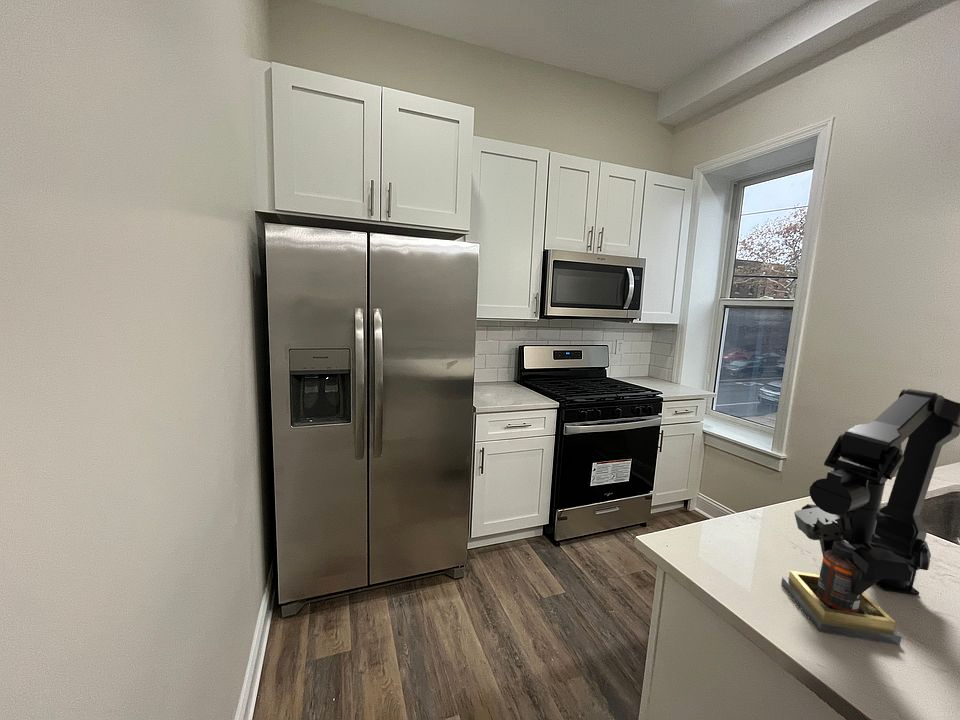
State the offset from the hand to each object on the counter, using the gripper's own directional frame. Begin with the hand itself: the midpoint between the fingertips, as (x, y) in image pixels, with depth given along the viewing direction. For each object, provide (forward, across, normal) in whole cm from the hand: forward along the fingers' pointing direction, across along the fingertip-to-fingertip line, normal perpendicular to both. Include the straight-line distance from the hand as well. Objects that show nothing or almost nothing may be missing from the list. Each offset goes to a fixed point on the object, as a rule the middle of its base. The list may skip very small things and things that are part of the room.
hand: (841, 580), depth 73 cm
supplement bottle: (+5, 0, 0) cm, 5 cm away
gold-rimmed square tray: (+6, 0, 0) cm, 7 cm away
